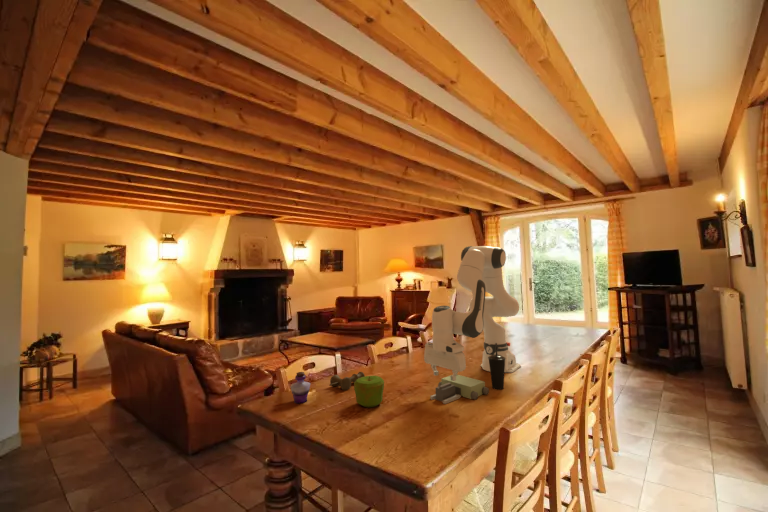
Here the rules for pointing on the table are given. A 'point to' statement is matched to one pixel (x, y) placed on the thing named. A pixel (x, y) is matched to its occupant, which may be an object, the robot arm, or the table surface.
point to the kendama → (345, 381)
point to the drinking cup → (497, 370)
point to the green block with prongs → (464, 388)
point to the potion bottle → (300, 388)
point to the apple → (369, 390)
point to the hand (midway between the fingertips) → (444, 377)
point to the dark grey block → (445, 391)
